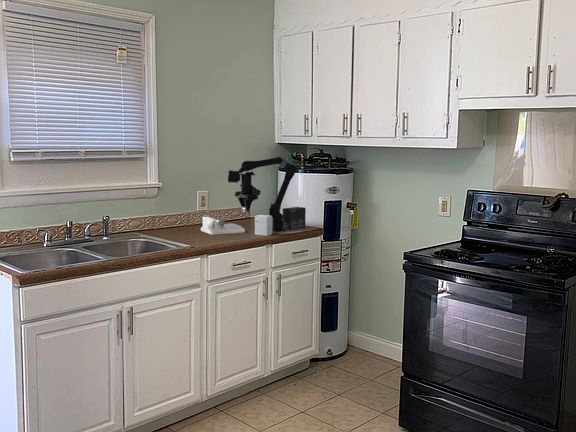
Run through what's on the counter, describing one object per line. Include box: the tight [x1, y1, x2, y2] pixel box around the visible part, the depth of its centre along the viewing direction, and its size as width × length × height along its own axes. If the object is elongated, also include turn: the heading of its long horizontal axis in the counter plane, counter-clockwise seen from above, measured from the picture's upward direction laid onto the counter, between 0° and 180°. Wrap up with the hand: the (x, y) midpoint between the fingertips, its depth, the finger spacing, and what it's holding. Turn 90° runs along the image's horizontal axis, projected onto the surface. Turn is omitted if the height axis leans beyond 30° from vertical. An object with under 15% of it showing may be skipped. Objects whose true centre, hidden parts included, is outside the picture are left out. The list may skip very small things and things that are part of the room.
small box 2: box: [282, 206, 307, 230], centre depth 355 cm, size 13×7×12 cm, turn 136°
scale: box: [200, 216, 246, 235], centre depth 336 cm, size 15×22×8 cm
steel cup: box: [240, 206, 251, 214], centre depth 343 cm, size 5×5×3 cm
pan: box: [218, 223, 243, 229], centre depth 338 cm, size 12×12×1 cm
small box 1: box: [254, 214, 273, 237], centre depth 329 cm, size 8×6×10 cm
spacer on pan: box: [214, 218, 225, 226], centre depth 339 cm, size 5×5×3 cm
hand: (245, 210), depth 343 cm, fingers closed on steel cup, 5 cm apart
